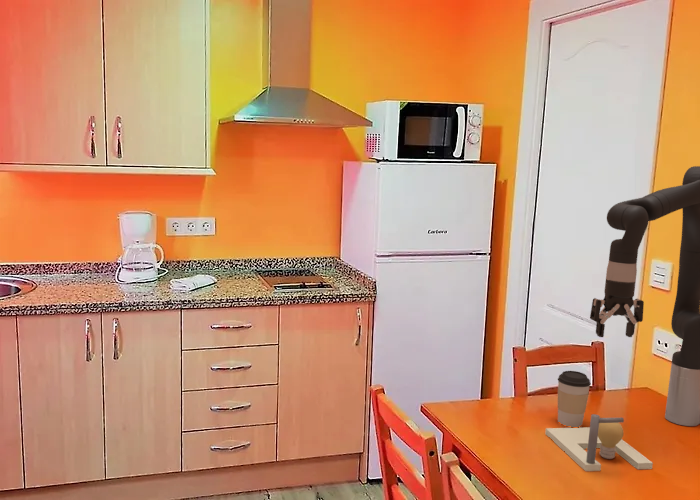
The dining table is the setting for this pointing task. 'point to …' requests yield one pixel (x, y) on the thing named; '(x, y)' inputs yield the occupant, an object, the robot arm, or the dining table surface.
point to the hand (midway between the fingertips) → (614, 336)
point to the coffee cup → (572, 397)
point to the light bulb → (609, 438)
